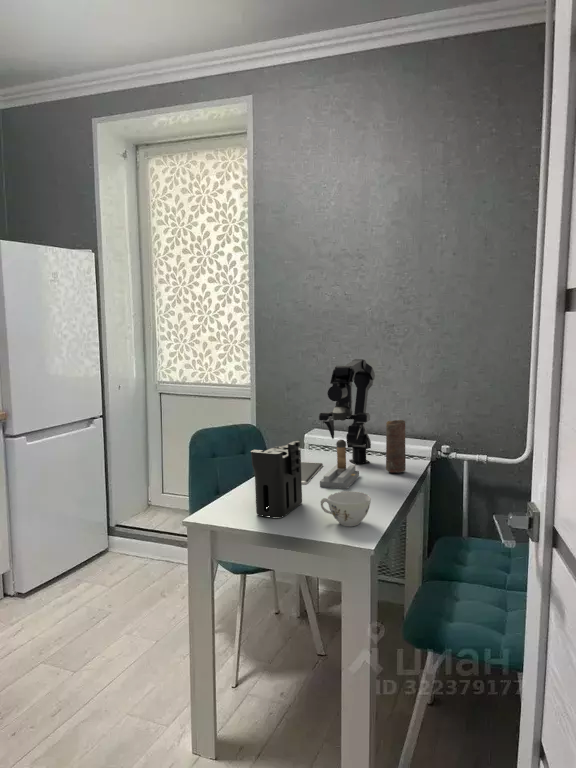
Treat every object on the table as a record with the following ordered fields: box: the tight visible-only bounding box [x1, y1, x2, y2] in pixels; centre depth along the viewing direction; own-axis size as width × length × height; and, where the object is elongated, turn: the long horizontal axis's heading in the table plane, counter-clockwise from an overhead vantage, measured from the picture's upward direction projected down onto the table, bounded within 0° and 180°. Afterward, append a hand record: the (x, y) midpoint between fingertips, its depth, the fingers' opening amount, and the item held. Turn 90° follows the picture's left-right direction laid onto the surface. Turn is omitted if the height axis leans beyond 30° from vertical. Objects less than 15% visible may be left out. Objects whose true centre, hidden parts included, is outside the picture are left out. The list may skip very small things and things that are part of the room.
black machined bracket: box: [250, 440, 303, 518], centre depth 183 cm, size 12×21×22 cm, turn 154°
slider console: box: [319, 464, 360, 490], centre depth 212 cm, size 17×10×4 cm, turn 159°
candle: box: [385, 419, 406, 474], centre depth 221 cm, size 8×7×20 cm
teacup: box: [320, 490, 372, 527], centre depth 170 cm, size 15×12×8 cm
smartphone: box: [301, 461, 324, 485], centre depth 225 cm, size 13×27×2 cm, turn 163°
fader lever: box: [335, 439, 347, 475], centre depth 214 cm, size 4×4×13 cm
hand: (344, 439), depth 221 cm, fingers open, 9 cm apart
